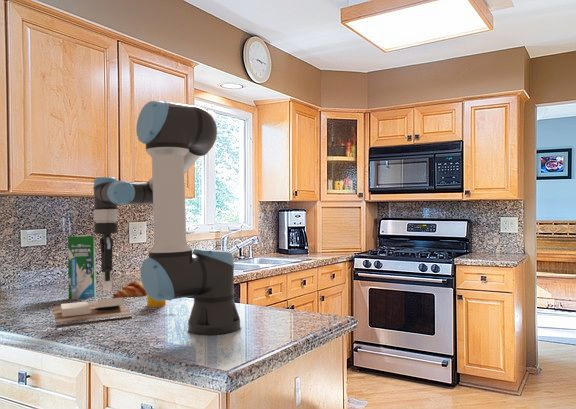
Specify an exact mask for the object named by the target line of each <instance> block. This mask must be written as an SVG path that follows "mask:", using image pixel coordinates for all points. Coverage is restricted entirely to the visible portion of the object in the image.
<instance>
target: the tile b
mask: <svg viewBox="0 0 576 409" xmlns="http://www.w3.org/2000/svg"><path fill="white" fill-rule="evenodd" d="M94 303H95V308H104V307H114V306H122V305H124V306H125V304H124V297H119V298H114V297H113V298H103V299H96V300H94Z"/></svg>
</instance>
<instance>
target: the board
mask: <svg viewBox="0 0 576 409" xmlns="http://www.w3.org/2000/svg"><path fill="white" fill-rule="evenodd" d="M87 303H88V302H87ZM88 304H89V306H90V314H87V315H78V316H69V317H62V314H61V305H59V306H53V307H52V309H53V313H54V319H55V324H56V325H55V328H56V329H57V328H64V327H75V326H82V325H91V324H98V323H99V324H100V323H109V322H115V321H123V320H124V321H125V320H132V319H133V316H132V315H133V314H132V312H131V311H130V310H129V309H128V307H126V305H125V304H124V305H122V306H114V307H104V308H95V302H89V303H88ZM129 315H130V316H129ZM120 316H122V317H120ZM112 317H114V318H112ZM101 318H105V319H101ZM93 319H99V320H93ZM85 320H86V321H85ZM87 320H88V321H87ZM89 320H90V321H89ZM77 321H82V322H77ZM69 322H70V323H69ZM71 322H73V323H71ZM58 323H64V324H58Z"/></svg>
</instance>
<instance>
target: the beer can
mask: <svg viewBox="0 0 576 409" xmlns="http://www.w3.org/2000/svg"><path fill="white" fill-rule="evenodd" d="M146 300H147V304H146V305H147V307H149V308H159V307H164V306H166V303H167V302H166V300H163V301H156V300H153V299H152V298H150V297H149V295H148V294H147V295H146Z"/></svg>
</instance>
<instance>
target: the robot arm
mask: <svg viewBox="0 0 576 409" xmlns="http://www.w3.org/2000/svg"><path fill="white" fill-rule="evenodd" d="M136 122H137V123H136V127H135V128H136V129H135V130H136V131H135V132H136V136H137V140H138V141H139V142H140V143H142V144H143V145H145V152H146V153H147V154H148V155H149V156H150V158H151V178H150V179H148V181H147V182H145V181H144V182H143V181H141V182H139V181H136V182H135V181H124V180H121V181H120V180H117V178H116V177H114V176H113V177H111V176H99V177H98V176H97V177H95V178H94V180H93V186H92V188H93V204H94V205H93V221H94V222H95V223H94V228H93V229H94V233H95V234H96V235H97V234H98V235H101V238H99V244H100V255H101V256H100V260H101V261H100V262H101V270H100V272H101V273H102V291H103V292H107V291H112V288H113V287H112V285H113V284H112V271H113V247H114V239H113V238H112V234H117V233H118V232H119V224H118V222H117V221H118V216H119V215H120V212H119V211H118V206H121V205H122V206H123V205H152V206H153V207H152V208H153V210H152V213H153V214H152V215H153V216H152V217H153V242H154V244H153V245H152V247H151V248H150V249H149V250H148V257H147V258H146V259H144V260H143V261H142V262H141V266H140V280H141V283H142V284H143V287H144V289H145V291H146V293H147V294H148V295H149V297H150V298H152V299H153V300H156V301H163V300H165V301H172V300H176V299H182V298H188V297H189V298H190V297H193V305H192V308H191V311H190V315H189V318H188V322H187V328H188V331H189V332H190V333H193V334H195V335H196V334H197V335H209V336H210V335H212V336H213V335H224V334H228V333H232V332H235V331H238V330H239V329H240V328H241V318H240V316H239V312H238V309H237V306H236V303H235V290H234V289H235V280H234V279H235V278H234V277H235V276H234V275H235V274H234V271H235V270H234V268H235V264H234V256H233V253H232V252H230V251H227V250H218V249H217V250H216V249H206V248H194V249H193V248H192V247H191V246H190V245H189V244H188V243H187V221H186V215H187V214H186V187H185V184H186V183H185V174H186V173H187V172H188V171H189V170H190V169H191V167H192V166H193V165H194V163H195V162H196V161H197V160H198V159H199V158H201V157H205V156H206V155H207V154H208V153H209V152H210V151H211V149H212V148H213V146H214V145H215V143H216V140H217V136H218V127H217V124H216V123H217V122H216V120H215V119H214V117H213V116H212V114H210V112H209V111H207V110H206V109H204V108H203V107H201V106H198V105H189V104H184V103H183V104H182V103H176V102H171V101H166V100H162V101H161V100H151V101H150V100H149V101H148V102H147V103H145V104H144V105H143V107H142V108H141V110H140V112H139V114H138V117H137V121H136Z"/></svg>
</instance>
